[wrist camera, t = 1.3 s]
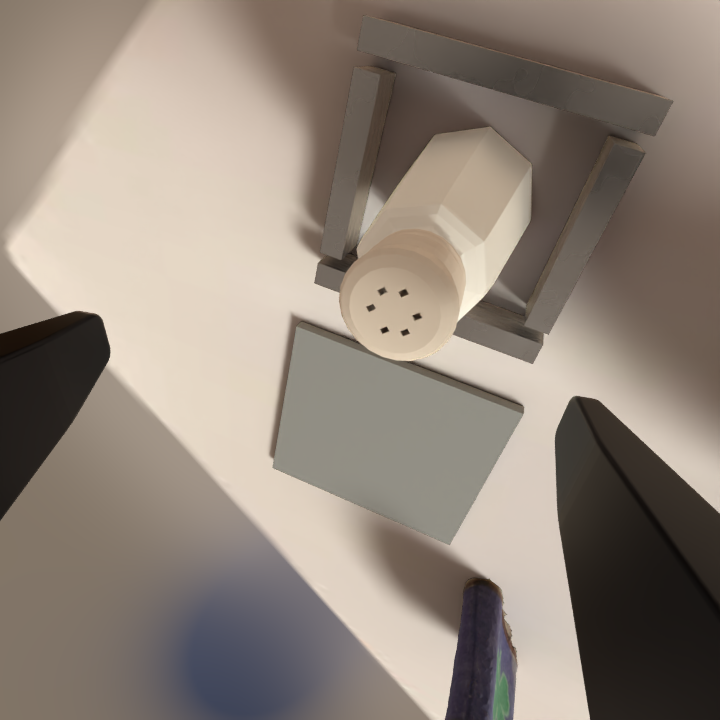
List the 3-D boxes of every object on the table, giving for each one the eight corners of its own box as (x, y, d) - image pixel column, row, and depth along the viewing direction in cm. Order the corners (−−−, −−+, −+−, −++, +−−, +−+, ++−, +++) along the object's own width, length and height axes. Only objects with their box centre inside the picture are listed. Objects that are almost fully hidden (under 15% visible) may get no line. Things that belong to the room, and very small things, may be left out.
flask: (521, 666, 35) (508, 868, 26) (479, 659, 36) (454, 849, 27) (501, 578, 31) (479, 782, 22) (455, 573, 32) (417, 765, 23)
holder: (661, 96, 16) (673, 101, 15) (534, 341, 22) (532, 364, 20) (381, 18, 18) (363, 14, 16) (330, 267, 23) (314, 283, 22)
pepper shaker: (378, 169, 20) (241, 256, 11) (502, 93, 18) (447, 130, 9) (437, 281, 22) (357, 432, 13) (559, 227, 19) (562, 374, 10)
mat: (524, 406, 24) (523, 414, 23) (451, 537, 30) (449, 545, 30) (301, 321, 26) (296, 326, 25) (276, 461, 32) (272, 467, 31)
